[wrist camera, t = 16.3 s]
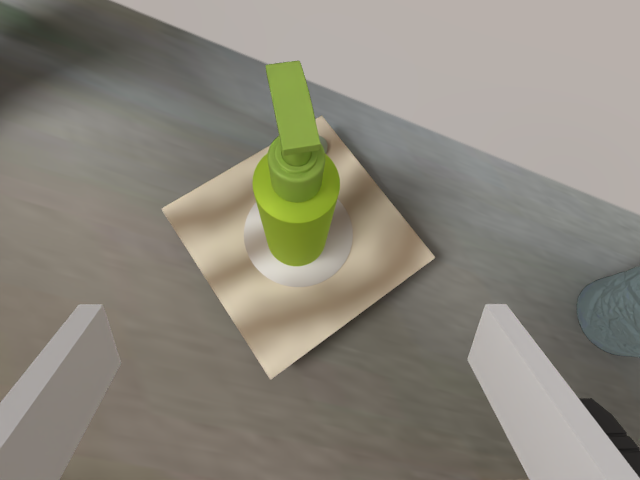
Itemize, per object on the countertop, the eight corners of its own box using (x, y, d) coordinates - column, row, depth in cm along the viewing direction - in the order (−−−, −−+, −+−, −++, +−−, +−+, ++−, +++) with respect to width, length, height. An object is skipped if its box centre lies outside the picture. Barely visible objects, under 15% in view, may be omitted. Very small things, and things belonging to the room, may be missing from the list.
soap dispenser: (317, 197, 39) (336, 48, 20) (331, 260, 37) (368, 164, 18) (261, 206, 38) (225, 62, 19) (272, 271, 36) (246, 184, 17)
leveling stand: (176, 224, 42) (159, 206, 37) (319, 139, 47) (321, 112, 41) (273, 375, 39) (270, 380, 33) (419, 267, 43) (437, 256, 37)
